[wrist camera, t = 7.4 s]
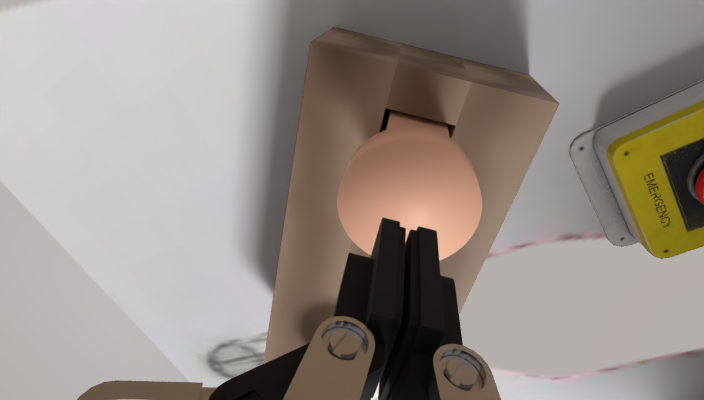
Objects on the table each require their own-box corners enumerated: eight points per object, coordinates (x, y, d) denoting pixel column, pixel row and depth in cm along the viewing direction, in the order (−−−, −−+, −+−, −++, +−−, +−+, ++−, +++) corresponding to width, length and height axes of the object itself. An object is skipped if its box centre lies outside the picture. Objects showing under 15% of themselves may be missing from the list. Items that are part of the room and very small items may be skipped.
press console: (529, 75, 24) (559, 103, 19) (415, 344, 36) (415, 406, 31) (333, 27, 25) (310, 42, 19) (285, 309, 37) (263, 365, 32)
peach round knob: (479, 102, 21) (505, 162, 15) (444, 194, 24) (454, 279, 17) (373, 76, 21) (352, 124, 15) (351, 171, 24) (325, 246, 18)
